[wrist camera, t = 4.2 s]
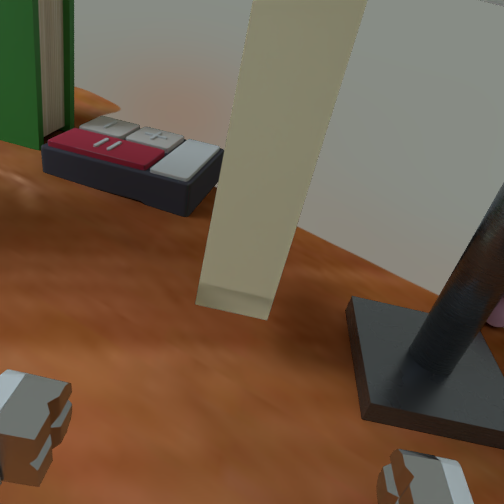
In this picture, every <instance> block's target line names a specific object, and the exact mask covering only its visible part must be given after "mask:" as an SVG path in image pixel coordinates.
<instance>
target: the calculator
mask: <svg viewBox="0 0 504 504" xmlns="http://www.w3.org/2000/svg"><path fill="white" fill-rule="evenodd" d="M41 154H42V165H43V172H45V173H47V174H51V175H54V176H57V177H60V178H63V179H66V180H69V181H73V182H76V183H79V184H82V185H85V186H88V187H92V188H95V189H98V190H101V191H105V192H109V193H112V194H116V195H120V196H124V197H127V198H131V199H135V200H138V201H141V202H143V203H144V204H145V205H148V206H151V207H154V208H157V209H160V210H163V211H166V212H170V213H173V214H176V215H179V216H182V217H188V216H189V215H190V214H191V213H192V212H193V210H194V209H195V208H196V207H197V206H198V205H199V203H200V202H201V201H202V200H203V199H204V197H205V196H206V195H207V194H208V193H209V192H210V190H211V189H212V188H213V187H214V186H215V185H216V184H217V183H218V181H219V176H220V171H221V166H222V160H223V155H224V150H223V149H221V148H220V147H219V146H216V145H212V144H208V143H204V142H200V141H196V140H192V139H188V140H185V139H184V136H182V135H178V134H174V133H171V132H166V131H162V130H158V129H154V128H150V127H143V128H141V129H140V125H137V124H134V123H130V122H126V121H122V120H118V119H113V118H109V117H105V116H100V117H98V118H96V119H93V120H91V121H89V122H87V123H84V124H82V125H80V126H79V128H73V129H71V130H69V131H66V132H64V133H62V134H60V135H57V136H55V137H53V138H51V139H49V140H48V143H46V144H44V145H42V146H41Z"/></svg>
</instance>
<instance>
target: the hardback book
mask: <svg viewBox="0 0 504 504" xmlns="http://www.w3.org/2000/svg"><path fill="white" fill-rule="evenodd" d="M73 128H74V0H0V140H2V141H6V142H9V143H13V144H17V145H21V146H24V147H28V148H32V149H35V150H41V146H42V145H44V137H45V136H46V135H48V134H50V133H52V132H54V131H56V130H62V131H69V130H71V129H73Z"/></svg>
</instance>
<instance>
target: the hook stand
mask: <svg viewBox="0 0 504 504" xmlns="http://www.w3.org/2000/svg"><path fill="white" fill-rule="evenodd" d="M480 1H484V2H488V3H492V4H496V5H500V6H504V0H480ZM503 295H504V183H503V185H502V187H501V188H500V190H499V192H498V194H497V195H496V197H495V199H494V201H493V202H492V204H491V206H490V208H489V209H488V211H487V213H486V215H485V216H484V218H483V220H482V222H481V223H480V225H479V227H478V229H477V230H476V232H475V234H474V236H473V237H472V239H471V241H470V243H469V244H468V246H467V248H466V250H465V251H464V253H463V255H462V256H461V258H460V260H459V262H458V263H457V265H456V267H455V269H454V271H453V272H452V274H451V276H450V277H449V279H448V281H447V283H446V285H445V286H444V288H443V290H442V291H441V293H440V295H439V297H438V298H437V300H436V302H435V304H434V305H433V307H432V309H431V311H430V312H429V313H426V312H421V311H417V310H412V309H408V308H404V307H399V306H395V305H390V304H386V303H381V302H377V301H373V300H368V299H364V298H359V297H355V296H352V297H351V299H350V301H349V303H348V306H347V308H346V310H345V311H346V317H347V324H348V331H349V337H350V344H351V351H352V357H353V364H354V370H355V377H356V384H357V390H358V397H359V403H360V410H361V417H362V419H364V420H369V421H373V422H378V423H383V424H387V425H392V426H397V427H402V428H406V429H411V430H416V431H420V432H425V433H430V434H435V435H439V436H444V437H449V438H453V439H458V440H463V441H468V442H472V443H477V444H482V445H486V446H491V447H496V448H501V449H504V377H503V375H502V373H501V371H500V369H499V367H498V365H497V363H496V361H495V359H494V357H493V355H492V353H491V351H490V349H489V348H488V346H487V344H486V342H485V340H484V338H483V336H482V334H481V332H480V330H481V328H482V327H483V325H484V324H485V322H486V321H487V319H488V318H489V316H490V315H491V313H492V312H493V310H494V309H495V307H496V306H497V304H498V303H499V301H500V300H501V298H502V297H503Z"/></svg>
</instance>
